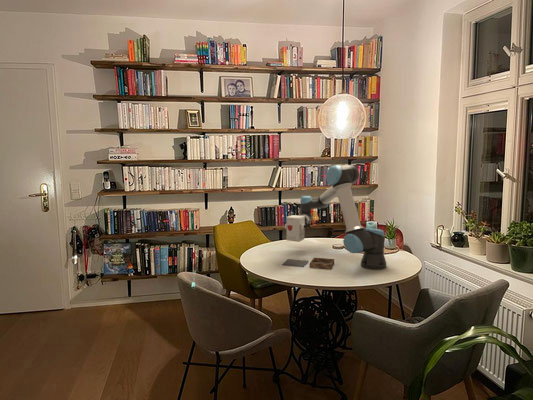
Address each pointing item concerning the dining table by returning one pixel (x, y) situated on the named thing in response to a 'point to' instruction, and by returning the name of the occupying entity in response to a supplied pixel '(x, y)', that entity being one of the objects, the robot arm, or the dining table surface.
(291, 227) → the supplement box
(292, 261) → the charcoal mat
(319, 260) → the walnut holder
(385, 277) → the dining table surface
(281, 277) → the dining table surface
